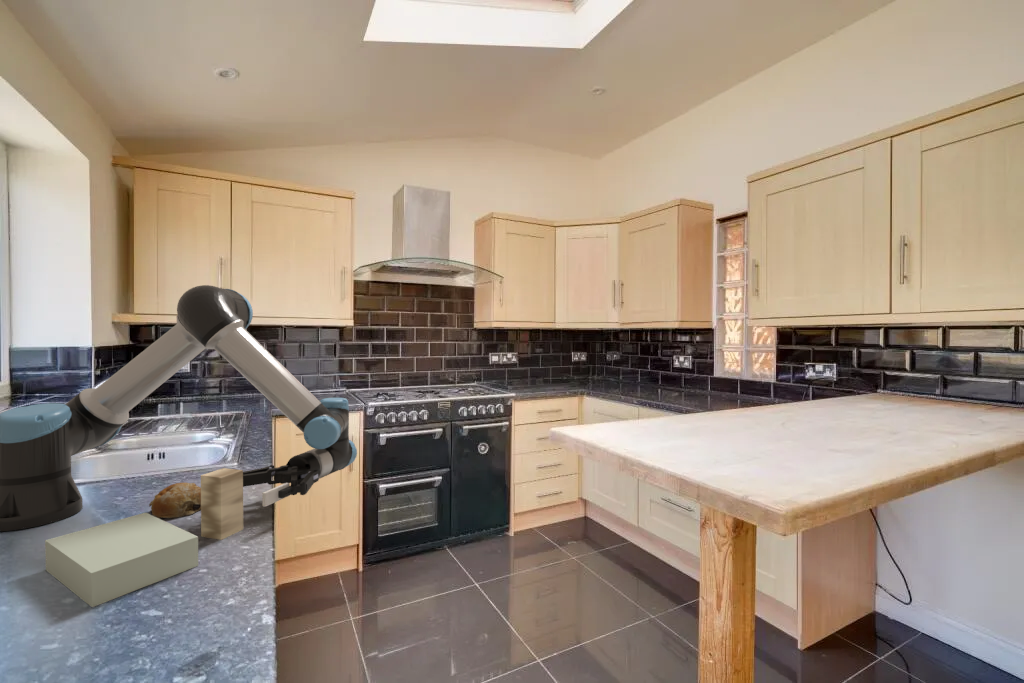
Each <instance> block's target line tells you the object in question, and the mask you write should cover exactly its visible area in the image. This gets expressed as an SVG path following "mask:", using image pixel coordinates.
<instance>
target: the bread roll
mask: <svg viewBox="0 0 1024 683" xmlns="http://www.w3.org/2000/svg"><path fill="white" fill-rule="evenodd" d="M148 507H150V510H151V511H150V512H151V515H152V516H155V517H157V518H159V519H161V520H162V519H176V518H182V517H187V516H188V517H189V516H191V515H193V514H195V513H197V512H199V511H201V486H198V485H196V483H195V482H175V483H173V484H170V485H168V486H166V487H164V488H163V489H162V490H160V491H159V492H158V493H156V494H155V495H154V499H152V500H151V501H150V502H149V504H148Z"/></svg>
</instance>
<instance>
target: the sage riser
mask: <svg viewBox="0 0 1024 683" xmlns="http://www.w3.org/2000/svg"><path fill="white" fill-rule="evenodd" d="M44 545H45V547H44V551H45V553H44V554H45V556H44V557H45V571H46V572H48V574H50V575H51V576H52V577H54V578H55V579H56V580H57V581H59V582H60V583H61V584H62V585H64V586H65V587H66V588H67V589H68V590H69V591H71V592H72V593H74V594H75V595H76V596H77V597H78V598H80V599H81V600H82V601H83V602H84V603H86V604H87V605H88V606H90V608H94V607H97V606H100V605H101V604H105V603H107V602H109V601H112V600H114V599H118V598H119V597H122V596H125V595H127V594H129V593H132V592H135V591H137V590H140V589H142V588H145V587H149V586H150V585H153V584H155V583H157V582H161V581H163V580H165V579H168V578H171V577H173V576H175V575H179V574H181V573H183V572H186V571H189V570H191V569H194V568H196V567H199V536H197V535H196V534H193V533H191V532H189V531H188V530H185V529H183V528H180V527H178V526H176V525H174V524H172V523H170V522H167V521H165V520H163V519H162V518H161V519H159V518H157V517H155V516H153V515H152V514H150V513H148V512H142V513H139V514H136V515H131V516H128V517H123V518H121V519H117V520H113V521H109V522H106V523H103V524H99V525H95V526H92V527H88V528H85V529H81V530H77V531H74V532H70V533H66V534H63V535H60V536H56V537H53V538H49V539H45V541H44Z"/></svg>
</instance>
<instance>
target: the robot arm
mask: <svg viewBox="0 0 1024 683" xmlns="http://www.w3.org/2000/svg"><path fill="white" fill-rule="evenodd" d="M252 307H253V306H252V305H251V302H250V301H249V300H248V298H247V297H245V296H244V295H243V294H242V293H240V292H237V291H236V290H233V289H231V288H222V287H218V286H214V285H209V284H205V285H197V286H194V287H192V288H190V289H188V290H186V291H185V292H184V293H183V294H182V295H181V297H180V298H179V299H178V302H177V306H176V313H177V315H176V324H175V325H174V326H172V327H171V328H170V329H169V330H168V331H166V332H165V333H163V334H162V335H161V336H159V338H158V339H156V340H155V341H154V342H152V343H151V344H150V345H149V346H148V347H146V348H145V349H144V350H143V351H141V352H140V353H138V355H136V356H135V357H134V358H132V359H131V360H130V361H129V362H128V363H127V364H125V365H123V367H121V368H120V369H119V370H118V371H116V372H115V373H114V374H113V375H111V376H110V377H109V378H107V379H106V380H105V381H104V382H103V383H101V384H100V385H99V386H97V387H96V388H93V387H92V388H91V387H90V388H85V389H82V390H81V391H80V392H79V393H78V394H76V395H75V396H74V397H72V399H70V400H69V401H68V402H66V403H58V402H57V403H55V402H53V403H50V402H48V403H39V404H31V405H27V406H20V407H19V406H18V407H15V408H11V409H8V410H5V411H2V412H1V413H0V532H9V531H10V532H11V531H17V530H18V531H20V530H24V529H29V528H31V529H32V528H35V527H40V526H43V525H47V524H51V523H55V522H58V521H61V520H64V519H67V518H70V517H71V516H74V515H76V514H77V513H79V512H81V511H82V509H83V496H82V494H81V492H80V491H79V488H78V486H77V484H76V482H75V480H74V478H73V476H72V456H75V455H77V454H80V453H83V452H86V451H89V450H93V449H96V448H99V447H100V446H101V447H102V446H103V445H105V444H107V443H108V442H110V441H111V440H112V439H114V438H116V436H117V435H118V434H119V432H120V431H121V429H122V426H123V425H125V423H127V422H128V421H129V419H130V413H129V412H130V411H132V409H133V408H135V407H136V406H137V405H138V404H140V403H141V402H142V401H143V400H144V399H146V398H148V397H149V396H150V395H151V394H152V393H153V392H155V391H156V389H159V387H160V386H162V385H163V384H164V383H165V382H166V381H168V380H169V379H170V378H171V377H173V376H174V375H175V374H176V373H178V372H179V371H180V370H182V369H183V368H184V367H185V366H186V365H188V364H189V363H190V362H191V361H192V360H194V359H195V358H196V357H197V356H199V355H200V354H201V353H202V352H203V351H205V350H215V351H216V352H217V353H218V354H219V355H220V356H221V357H222V358H223V359H225V360H226V361H227V362H228V363H229V364H230V365H231V366H232V367H233V368H234V369H235V370H236V371H238V373H239V374H241V375H242V377H244V378H245V380H247V381H248V383H250V384H251V385H252V386H253V387H254V388H255V389H257V391H258V392H259V393H261V394H262V396H264V397H265V398H266V399H267V400H268V401H269V402H271V404H272V405H273V406H274V407H275V408H276V409H278V410H279V411H280V412H281V413H282V414H283V415H284V416H285V417H287V419H288V420H289V421H291V422H292V423H293V425H295V426H296V427H297V428H298V429H299V430H300V431H301V432H302V433H303V438H304V440H305V441H304V442H305V443H306V444H307V445H308V446H309V447H310V448H313V449H310V450H307V451H305V452H302V453H300V454H299V453H298V454H297V455H294V456H292V457H291V458H290V459H289V460H288V461H287V463H286V464H285V465H280V466H279V467H275V465H273V464H271V465H269V466H265V467H260V468H255V469H250V470H246V471H243V488H244V487H245V488H246V487H249V486H250V487H251V486H256V485H263V484H264V485H265V484H268V485H276V484H280V485H278V486H275V487H272V488H271V489H268V490H266V491H264V492H261V493H262V495H261V496H262V503H261V505H262V507H265V508H266V507H268V506H270V505H272V504H274V503H277V502H279V501H281V500H284V499H285V498H287V497H289V496H295V495H297V494H299V495H300V496H305V495H307V493H309V490H311V488H312V486H314V484H316V483H317V482H319V480H320V479H322V478H324V477H327V476H329V475H331V474H333V473H336V472H338V471H342V470H344V469H345V468H347V467H348V466H350V465H352V464H353V463H354V462H355V460H356V458H357V454H358V449H357V447H356V445H355V443H354V441H352V440H351V439H350V436H349V435H350V434H349V432H350V431H349V430H350V429H349V428H350V426H349V425H350V421H349V420H350V417H349V416H350V408H349V400H348V399H347V398H345V397H327V398H322V399H320V400H319V398H317V397H316V396H315V395H314V394H313V393H312V392H310V390H308V388H306V386H304V385H303V383H301V381H300V380H298V379H297V378H296V377H295V376H294V375H293V373H291V372H290V371H289V370H288V369H287V368H286V367H285V366H284V365H283V364H282V363H281V362H279V360H278V359H277V358H276V357H275V356H274V355H272V354H271V353H270V351H268V350H267V349H266V348H265V346H264V345H262V344H261V343H260V342H259V341H258V340H257V339H256V338H255V337H254V336H253V335H252V334H251V333H250V332H249V331H247V329H248V327H249V326H250V325H251V324H252V320H253V314H254V313H253V308H252ZM272 478H273V479H272Z"/></svg>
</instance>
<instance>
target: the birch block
mask: <svg viewBox="0 0 1024 683" xmlns="http://www.w3.org/2000/svg"><path fill="white" fill-rule="evenodd" d="M243 472H244V470H243V469H235V468H226V467H222V468H219V469H216V470H214V471H210V472H207V473H204V474H200V488H201V510H200V529H201V530H200V531H201V532H200V533H201V534H200V535H201V537H202V538H207V539H213V540H220V541H222V540H224V539H227V538H228V537H230V536H233V535H234V534H237V533H239V532H240V531H243V530H244V487H243Z"/></svg>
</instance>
